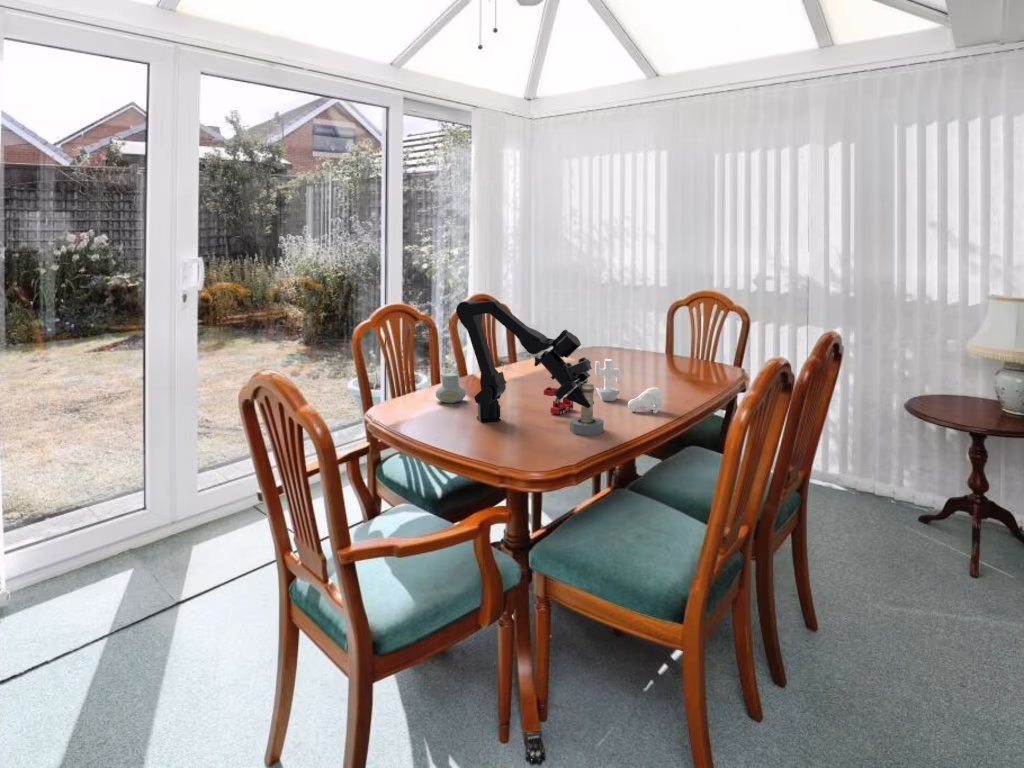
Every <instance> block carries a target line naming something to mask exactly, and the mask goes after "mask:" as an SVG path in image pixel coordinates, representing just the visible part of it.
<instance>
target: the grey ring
mask: <svg viewBox="0 0 1024 768" xmlns="http://www.w3.org/2000/svg"><path fill="white" fill-rule="evenodd" d="M569 432H571V433H573V434H575V435H579V436H597V435H601V434H603V433H604V420H603V419H601V418H599V417H595V416H593V423H590V424H585V423H581V416H576V417H573V418H571V419H570V422H569Z"/></svg>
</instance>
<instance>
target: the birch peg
mask: <svg viewBox="0 0 1024 768" xmlns="http://www.w3.org/2000/svg"><path fill="white" fill-rule="evenodd" d="M594 385H595V384H593V383H589V382H587V383H585V384H582V387H581V392H582V393H583V395H584V396H585V398H586V399H587V401H588V402H589V404H590V405H591V406H590V407H589V408H586V407H584V406H582V405H580V417H581V423H585V424H590V423H593V417H594V404H593V401H594V392H595V387H594Z"/></svg>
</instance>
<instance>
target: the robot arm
mask: <svg viewBox="0 0 1024 768" xmlns="http://www.w3.org/2000/svg"><path fill="white" fill-rule="evenodd" d="M455 312H456V315H457V318H458V320H459V322H460V323H461V325H462V326H463V327H464V328H465V329H466V330H467V333H468V337H469V340H470V342H471V346H472V349H473V353H474V355H475V359H476V361H477V365H478V368H479V370H480V378H479V379H480V380H479V385H480V390H479V392H478V393H477V394H476V395H475V396H474V400H475V403H476V404H477V415H476V419H477V420H479V421H480V423H486V422H487V423H488V422H500V421H501V405H500V404H499V400H500V399H501V397H502V395H503V394H504V392H505V391H506V389H507V385H506V384H507V381H506V380H505V375H504V372H503V371H500V372H499V371H498V370H497V369H496V368H495V365H494V362H493V358H492V355H491V351H490V349H489V345H488V343H487V338H486V336H485V333H484V330H483V326H482V325H483V315H484V314H489V315H491V317H493V318H494V319H496V321H497V322H499V323H500V324H501V325H502V326H503V327H505V328H506V329H507V330H509V332H510V333H512V334H513V336H515V337H516V338H517V339H518V341H519V343H520V345H521V346H522V347H523V349H524V350H525V351H526V352H527V353H528V354H530V355H536V356H535V357H534V367H537V366H539V365H541V364H542V366H543V367H544V368H545V369H546V370H547V371H548V373H549V374H550V375H551V376H550V378H551V379H552V380H555V381H556V382H557V383H558V384H559V385H560V386H559V387H558V389H557V390H556V391H555V398H556V397H557V398H558V399H559V400H560V399H561V400H563V398H564V397H565V399H568V400H570V401H573V403H576V404H578V405H580V406H581V405H582V406H584V407H586V408H589V407H590V406H591V405H590V404H589V402H588V401H587V399H586V398H585V396H584V395H583V393H582V392H581V387H582V384H585V383H589V377H591V375H590V373H589V371H590V370H592V369H593V368H592V365H591V363H592V361H590V359H589V358H586V357H584V356H583V357H581V358H579V359H578V362H577V363H574V364H573V365H572V363H570V362H566V361H565V360H564V358H567V359H568V358H569V357H570V356H571V355H572V354H574V352H576V351H577V350H578V348H580V347H581V346H582V343H581V340H580V339H579V337H577V336H576V335H574V334H573V333H572V332H570V331H568V330H567V329H564V330H562V331H561V332H560V334H559V335H558V336H557V337H556V338H555V339H554V338H549V337H547V336H546V335H545V334H544V333H541V332H540V331H538V330H536V329H534V328H531V327H529V326H528V325H526V324H525V323H524V322H522V321H521V320H520V319H519V318H518V317H516V315H514V314H513V313H512V312H511V311H509V309H507V308H506V307H504V306H503V305H502V303H500V301H499V300H497V299H491V300H488V301H480V302H478V301H476V300H475V299H474V300H473V299H472V300H465V301H461V302H459V303H458V304H457V306H456V308H455ZM549 349H550V350H549ZM548 350H549V351H548ZM542 352H543V353H542ZM540 353H542V354H540ZM538 354H540V356H537V355H538ZM594 404H595V401H594V400H593V405H594Z"/></svg>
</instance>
